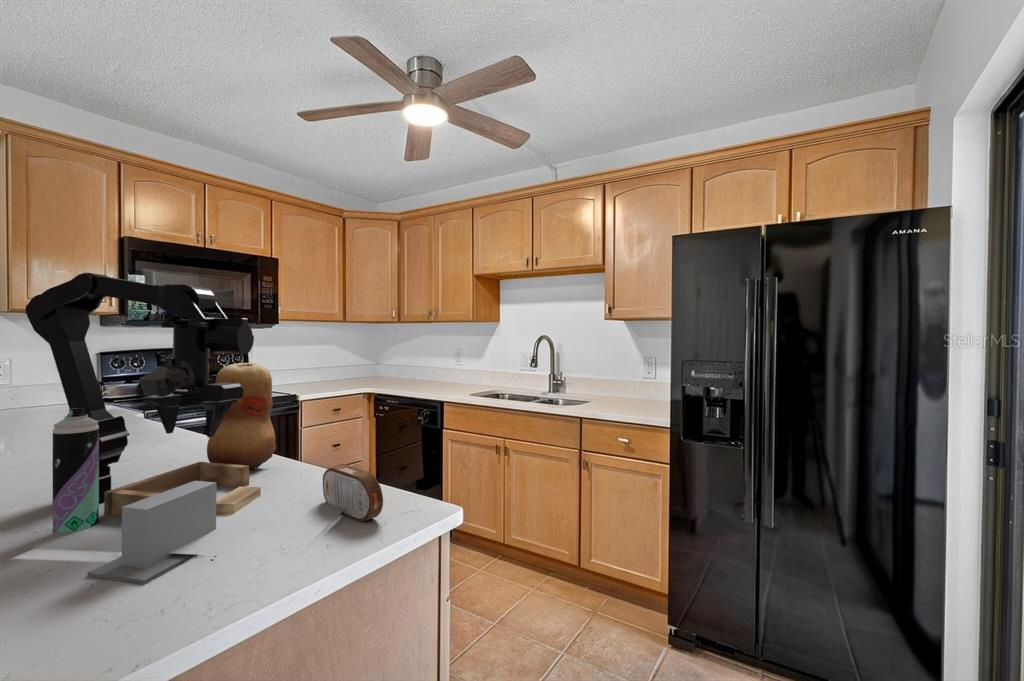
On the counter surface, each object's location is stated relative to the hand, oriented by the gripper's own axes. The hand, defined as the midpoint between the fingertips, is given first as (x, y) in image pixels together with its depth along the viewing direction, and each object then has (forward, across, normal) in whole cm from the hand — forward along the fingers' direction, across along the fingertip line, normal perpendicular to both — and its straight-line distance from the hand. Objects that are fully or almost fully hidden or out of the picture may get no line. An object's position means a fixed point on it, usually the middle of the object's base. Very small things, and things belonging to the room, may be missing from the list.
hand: (189, 435), depth 91 cm
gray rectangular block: (+12, +15, -17) cm, 26 cm away
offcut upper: (+12, +11, -1) cm, 16 cm away
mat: (+13, +15, -17) cm, 26 cm away
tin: (+13, +32, +2) cm, 35 cm away
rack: (+13, 0, -1) cm, 13 cm away
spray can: (+13, -5, -16) cm, 21 cm away
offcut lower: (+13, +11, -1) cm, 17 cm away
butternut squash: (+13, -5, +19) cm, 24 cm away
